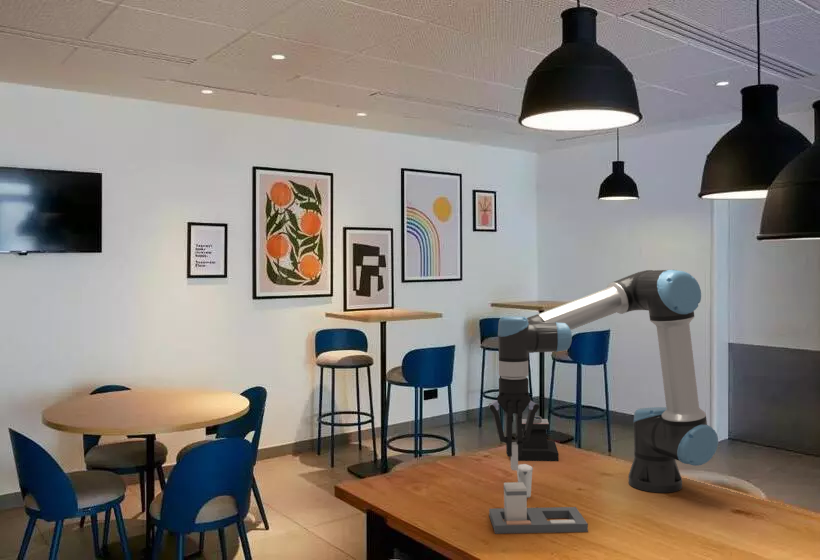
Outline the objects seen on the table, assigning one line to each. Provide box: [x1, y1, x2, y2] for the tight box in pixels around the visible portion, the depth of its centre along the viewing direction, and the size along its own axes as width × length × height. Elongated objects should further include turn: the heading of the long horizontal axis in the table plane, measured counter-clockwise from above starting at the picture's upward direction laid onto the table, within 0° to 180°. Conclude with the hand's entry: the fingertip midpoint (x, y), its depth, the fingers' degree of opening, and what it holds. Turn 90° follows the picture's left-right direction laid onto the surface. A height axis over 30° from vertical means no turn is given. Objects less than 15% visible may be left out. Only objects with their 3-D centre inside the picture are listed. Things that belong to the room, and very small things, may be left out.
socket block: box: [488, 506, 589, 535], centre depth 176 cm, size 23×12×2 cm, turn 90°
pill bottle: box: [516, 463, 535, 499], centre depth 197 cm, size 4×5×10 cm
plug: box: [503, 481, 528, 522], centre depth 176 cm, size 5×5×10 cm
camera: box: [512, 415, 560, 462], centre depth 239 cm, size 16×14×15 cm
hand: (514, 468), depth 176 cm, fingers closed
